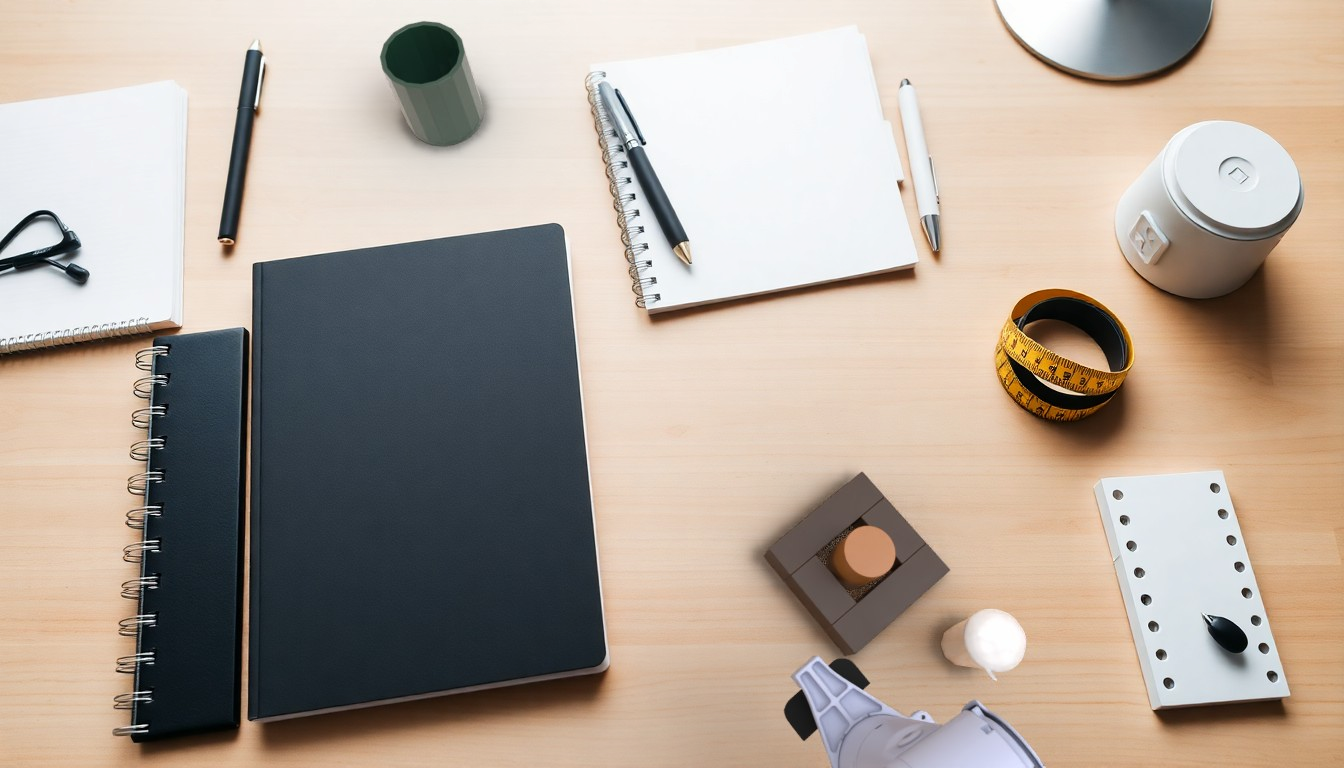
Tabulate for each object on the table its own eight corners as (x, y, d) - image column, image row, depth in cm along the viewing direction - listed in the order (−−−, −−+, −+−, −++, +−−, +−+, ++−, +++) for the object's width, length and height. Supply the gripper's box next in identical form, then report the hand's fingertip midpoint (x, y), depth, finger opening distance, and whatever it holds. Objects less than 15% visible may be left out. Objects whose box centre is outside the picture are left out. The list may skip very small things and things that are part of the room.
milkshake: (923, 671, 69) (963, 667, 59) (941, 609, 71) (982, 596, 61) (976, 692, 68) (1025, 692, 59) (993, 630, 70) (1042, 620, 61)
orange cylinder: (881, 569, 72) (906, 555, 64) (847, 599, 71) (868, 588, 63) (850, 533, 73) (871, 515, 65) (816, 562, 72) (833, 547, 64)
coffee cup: (498, 119, 88) (479, 59, 80) (434, 159, 86) (409, 101, 78) (456, 72, 90) (434, 8, 82) (393, 109, 89) (364, 48, 80)
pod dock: (936, 576, 72) (950, 569, 68) (845, 656, 69) (855, 654, 66) (852, 482, 74) (862, 470, 71) (762, 555, 72) (767, 548, 68)
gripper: (1055, 840, 44) (967, 803, 57) (870, 619, 48) (826, 630, 61) (962, 936, 43) (892, 875, 56) (778, 700, 46) (753, 694, 59)
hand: (853, 752), depth 58 cm, fingers open, 7 cm apart
